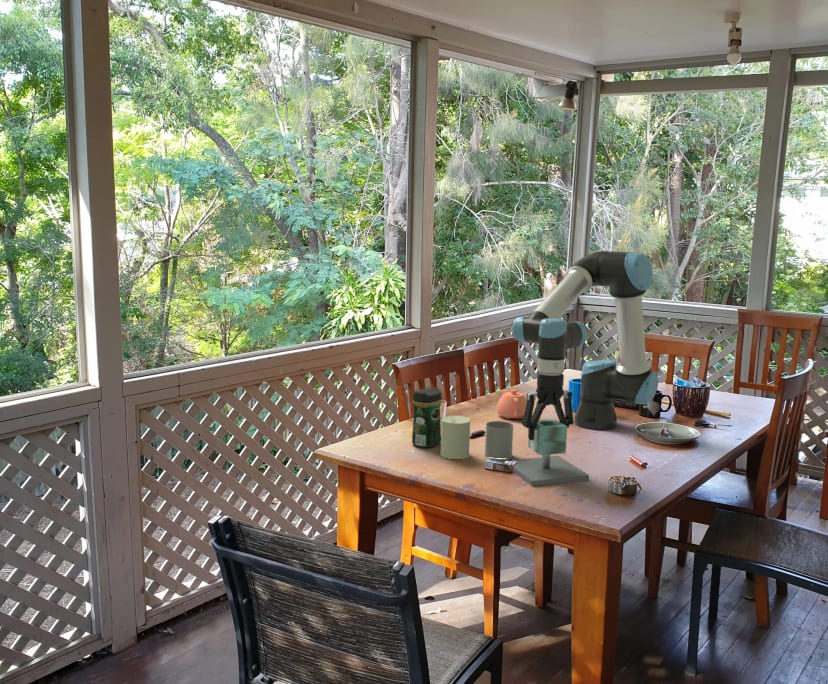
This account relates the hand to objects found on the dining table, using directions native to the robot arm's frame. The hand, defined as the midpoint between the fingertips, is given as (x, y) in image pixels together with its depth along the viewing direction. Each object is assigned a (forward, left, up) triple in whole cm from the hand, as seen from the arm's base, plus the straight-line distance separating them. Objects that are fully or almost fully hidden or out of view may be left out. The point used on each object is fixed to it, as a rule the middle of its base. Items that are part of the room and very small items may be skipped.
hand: (546, 449), depth 223 cm
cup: (+7, -18, -7) cm, 21 cm away
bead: (0, 0, 0) cm, 0 cm away
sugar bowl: (-17, -58, -7) cm, 61 cm away
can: (+20, -22, -7) cm, 31 cm away
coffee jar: (+25, -35, -7) cm, 44 cm away
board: (0, 0, -7) cm, 7 cm away
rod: (0, 0, -6) cm, 6 cm away
